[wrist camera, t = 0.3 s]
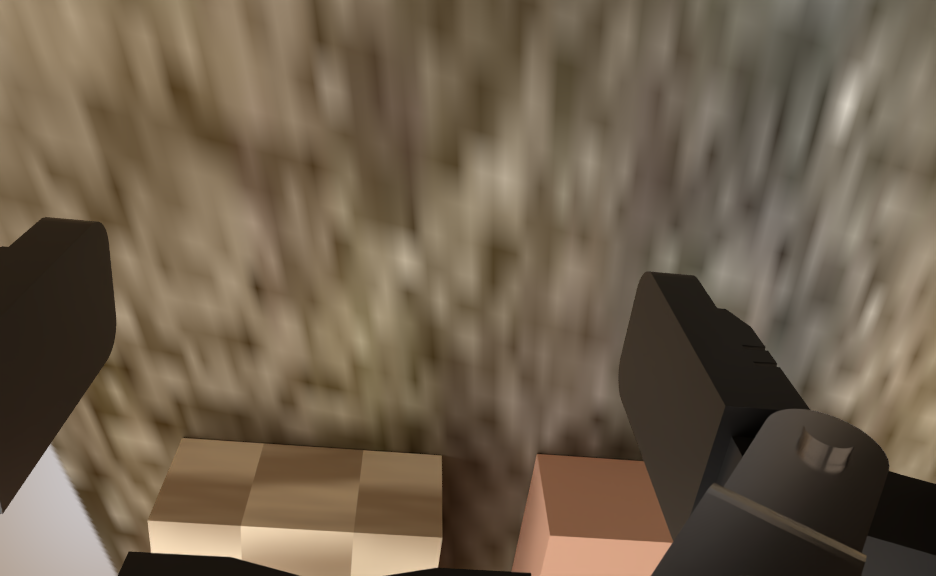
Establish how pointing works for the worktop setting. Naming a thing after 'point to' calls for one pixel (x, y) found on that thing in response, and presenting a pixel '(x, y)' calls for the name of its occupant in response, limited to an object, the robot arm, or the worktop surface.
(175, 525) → the mount block
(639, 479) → the dock block
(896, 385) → the worktop surface
